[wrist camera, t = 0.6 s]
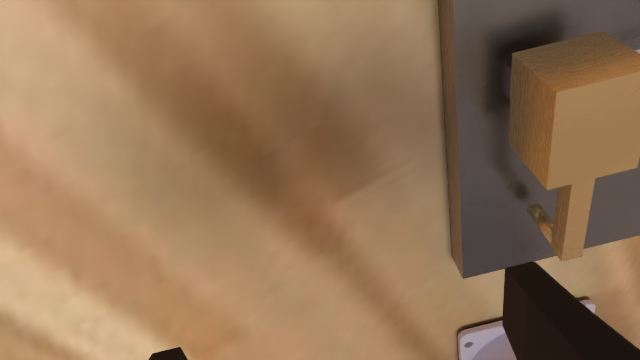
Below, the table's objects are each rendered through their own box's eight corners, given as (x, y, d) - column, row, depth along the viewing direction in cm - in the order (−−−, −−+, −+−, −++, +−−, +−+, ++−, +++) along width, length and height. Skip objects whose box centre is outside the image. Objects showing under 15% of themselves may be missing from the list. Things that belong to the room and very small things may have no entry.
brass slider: (567, 205, 22) (615, 262, 19) (499, 222, 22) (537, 281, 19) (591, 24, 17) (660, 66, 14) (504, 46, 17) (556, 91, 14)
